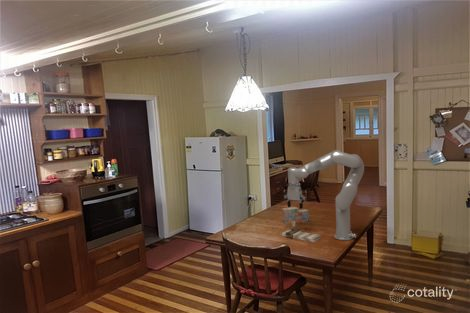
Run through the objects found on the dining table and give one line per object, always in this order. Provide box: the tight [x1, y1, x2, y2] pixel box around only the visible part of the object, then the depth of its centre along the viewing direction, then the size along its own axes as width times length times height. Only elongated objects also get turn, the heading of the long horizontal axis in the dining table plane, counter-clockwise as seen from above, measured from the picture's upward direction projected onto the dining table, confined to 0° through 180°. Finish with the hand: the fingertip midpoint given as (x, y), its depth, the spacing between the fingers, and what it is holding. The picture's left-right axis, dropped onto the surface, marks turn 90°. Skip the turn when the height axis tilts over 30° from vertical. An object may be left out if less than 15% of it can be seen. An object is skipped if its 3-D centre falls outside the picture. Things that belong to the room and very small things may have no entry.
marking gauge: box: [286, 220, 301, 239], centre depth 243 cm, size 5×14×10 cm, turn 140°
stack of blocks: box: [281, 206, 310, 225], centre depth 276 cm, size 21×6×12 cm, turn 101°
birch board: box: [281, 229, 322, 243], centre depth 240 cm, size 26×10×2 cm, turn 50°
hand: (295, 207), depth 242 cm, fingers open, 9 cm apart
